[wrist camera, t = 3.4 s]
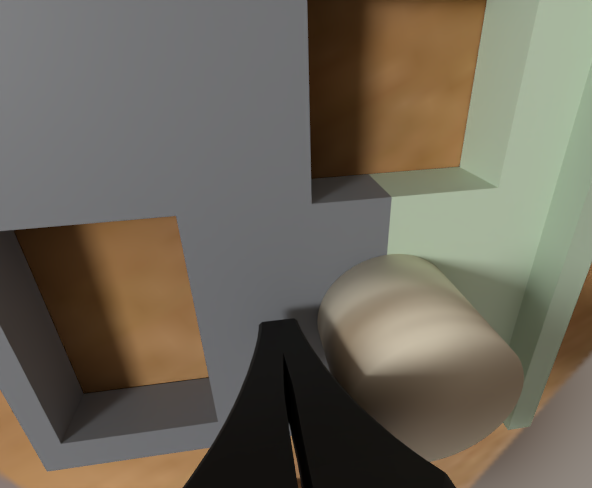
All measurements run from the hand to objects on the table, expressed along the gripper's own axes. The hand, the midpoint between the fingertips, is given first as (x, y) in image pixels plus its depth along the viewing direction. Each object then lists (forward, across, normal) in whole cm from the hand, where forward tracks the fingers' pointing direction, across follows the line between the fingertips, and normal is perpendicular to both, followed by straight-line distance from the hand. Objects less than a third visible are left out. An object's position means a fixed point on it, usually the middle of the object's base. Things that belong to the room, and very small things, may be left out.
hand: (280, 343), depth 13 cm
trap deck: (+3, 0, -2) cm, 4 cm away
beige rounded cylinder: (+1, -4, 0) cm, 4 cm away
